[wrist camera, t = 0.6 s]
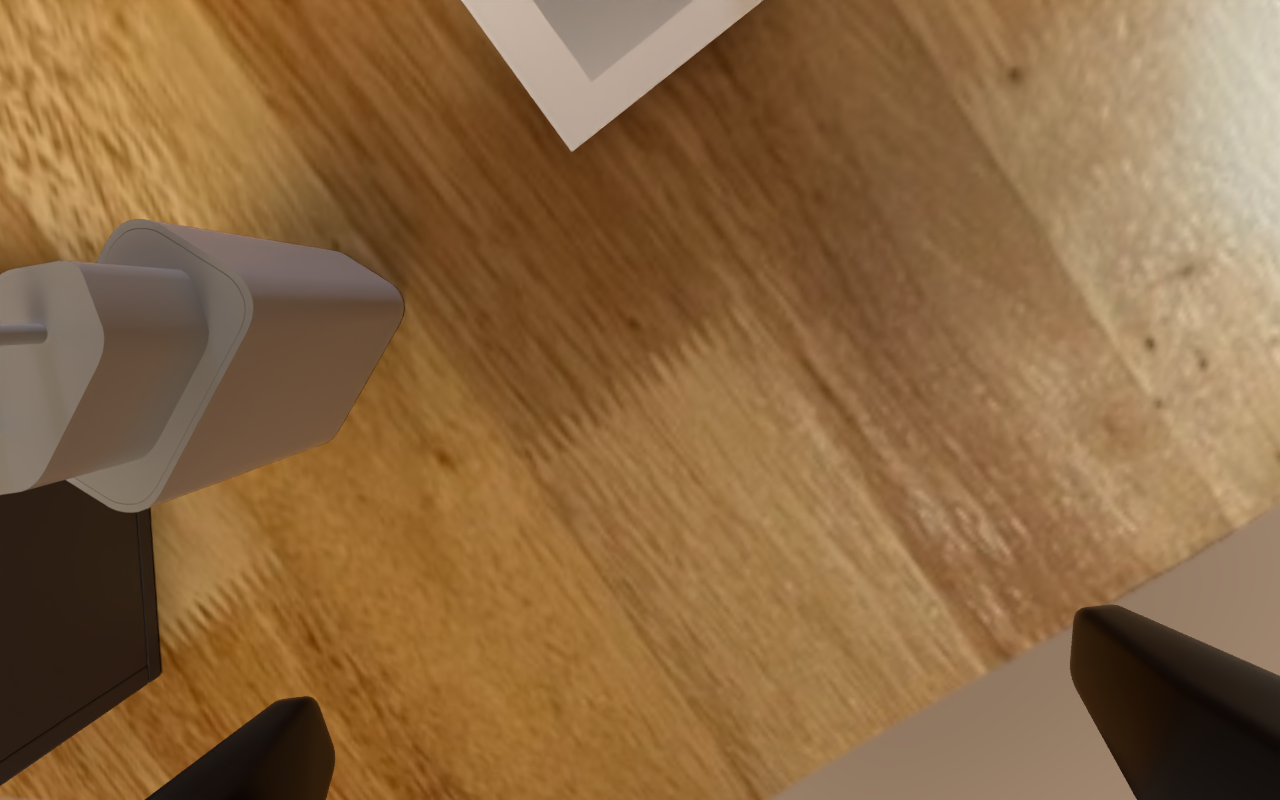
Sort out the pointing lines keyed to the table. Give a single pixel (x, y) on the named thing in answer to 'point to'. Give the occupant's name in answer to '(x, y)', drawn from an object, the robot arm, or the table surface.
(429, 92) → the table surface
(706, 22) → the white grey flat rectangle
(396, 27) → the table surface
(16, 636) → the open storage box
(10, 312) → the power adapter
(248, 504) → the table surface
